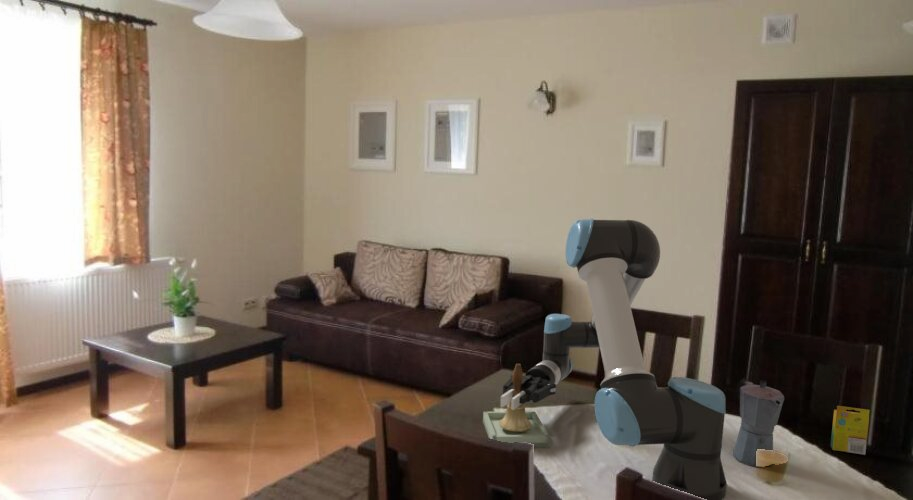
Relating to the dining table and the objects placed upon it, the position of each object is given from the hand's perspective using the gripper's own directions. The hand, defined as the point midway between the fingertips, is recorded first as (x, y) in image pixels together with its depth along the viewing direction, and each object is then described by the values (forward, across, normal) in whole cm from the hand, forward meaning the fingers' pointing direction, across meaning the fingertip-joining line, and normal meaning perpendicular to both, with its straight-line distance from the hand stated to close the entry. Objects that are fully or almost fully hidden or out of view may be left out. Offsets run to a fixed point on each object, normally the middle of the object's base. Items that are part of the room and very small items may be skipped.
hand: (507, 402), depth 158 cm
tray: (-6, 0, -10) cm, 11 cm away
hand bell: (-6, 0, -8) cm, 10 cm away
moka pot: (-25, -54, -10) cm, 60 cm away
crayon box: (-44, -74, -10) cm, 87 cm away
